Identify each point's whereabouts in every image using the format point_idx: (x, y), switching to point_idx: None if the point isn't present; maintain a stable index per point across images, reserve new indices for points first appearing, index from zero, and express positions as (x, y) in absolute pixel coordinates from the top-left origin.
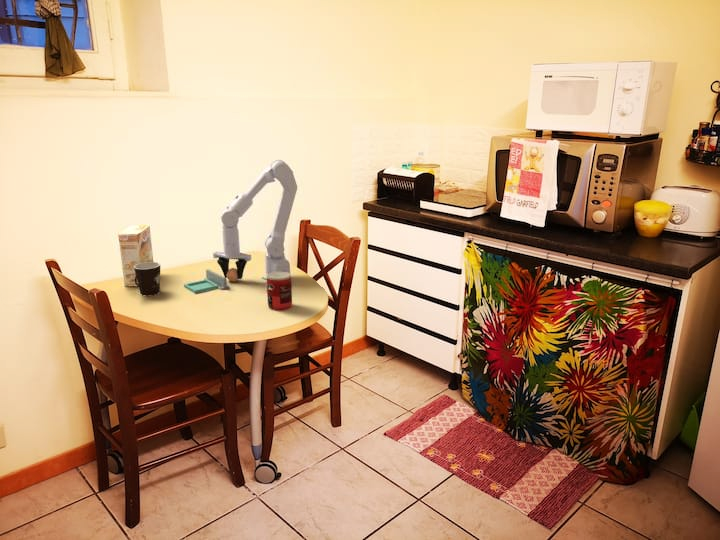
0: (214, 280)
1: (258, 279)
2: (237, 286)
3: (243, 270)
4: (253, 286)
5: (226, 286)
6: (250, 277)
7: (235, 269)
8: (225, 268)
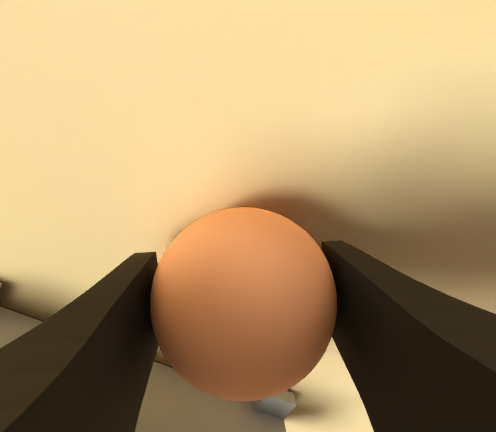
0: None
1: (484, 104)
2: None
3: (409, 285)
4: (472, 304)
5: (284, 428)
6: (366, 59)
7: (300, 362)
8: (124, 409)
